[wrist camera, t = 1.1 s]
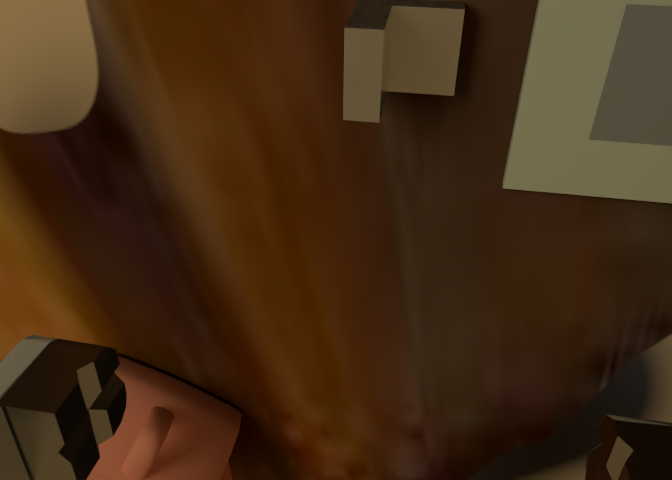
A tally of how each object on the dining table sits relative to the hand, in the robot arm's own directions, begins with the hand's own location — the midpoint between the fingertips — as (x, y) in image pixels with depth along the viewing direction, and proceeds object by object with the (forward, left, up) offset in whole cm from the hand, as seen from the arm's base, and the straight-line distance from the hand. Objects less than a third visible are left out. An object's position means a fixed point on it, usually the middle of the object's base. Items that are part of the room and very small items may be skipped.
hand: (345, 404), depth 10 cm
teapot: (+43, -21, -30) cm, 57 cm away
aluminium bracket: (+3, -1, -30) cm, 30 cm away
